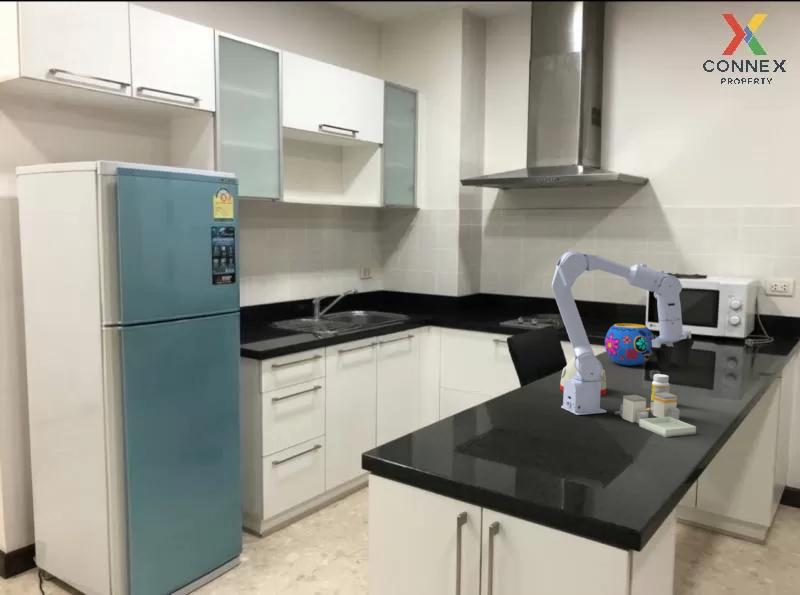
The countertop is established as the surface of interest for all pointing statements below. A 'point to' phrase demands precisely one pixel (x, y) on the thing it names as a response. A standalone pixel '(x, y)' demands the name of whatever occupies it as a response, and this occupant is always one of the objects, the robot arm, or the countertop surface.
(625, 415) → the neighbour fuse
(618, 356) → the ceramic pot
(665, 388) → the supplement bottle
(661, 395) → the white box with band
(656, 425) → the tray
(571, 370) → the kitchen timer
